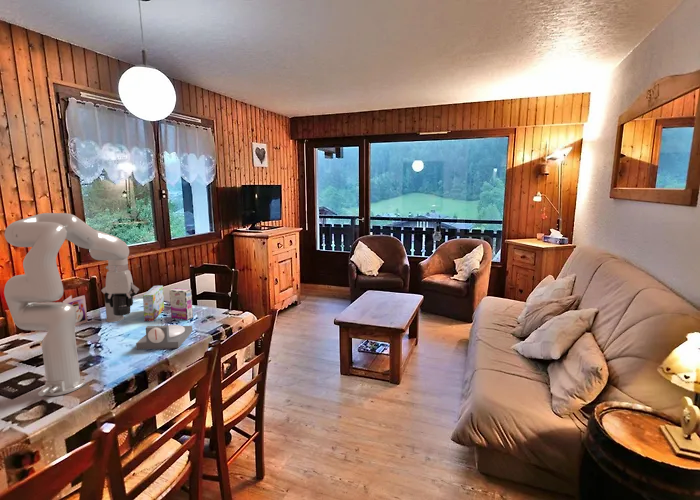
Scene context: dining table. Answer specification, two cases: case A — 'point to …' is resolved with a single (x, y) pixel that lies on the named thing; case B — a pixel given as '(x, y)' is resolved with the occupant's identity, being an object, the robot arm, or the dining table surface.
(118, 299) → the supplement bottle
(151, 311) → the snack box
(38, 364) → the dining table surface
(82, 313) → the greeting card
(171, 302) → the candy bar box
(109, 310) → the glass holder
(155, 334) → the dial scale
